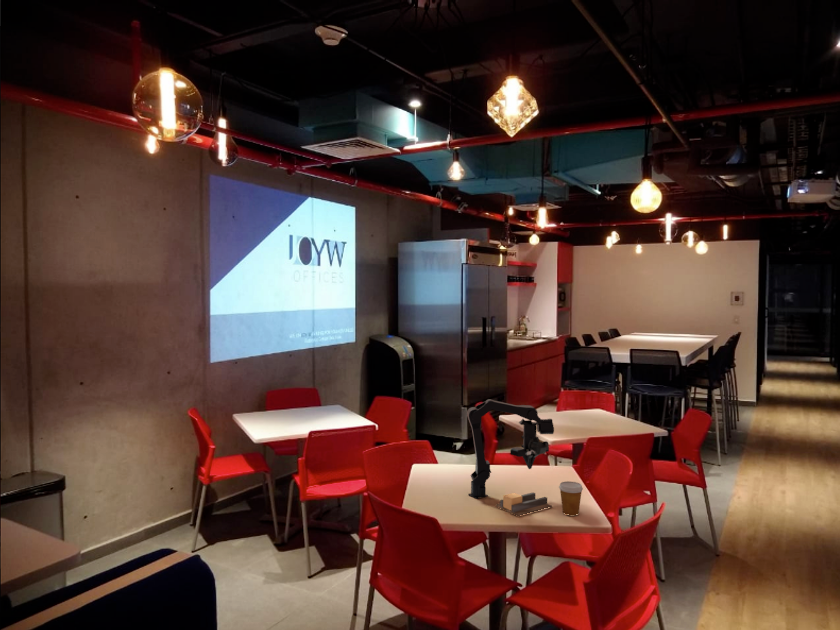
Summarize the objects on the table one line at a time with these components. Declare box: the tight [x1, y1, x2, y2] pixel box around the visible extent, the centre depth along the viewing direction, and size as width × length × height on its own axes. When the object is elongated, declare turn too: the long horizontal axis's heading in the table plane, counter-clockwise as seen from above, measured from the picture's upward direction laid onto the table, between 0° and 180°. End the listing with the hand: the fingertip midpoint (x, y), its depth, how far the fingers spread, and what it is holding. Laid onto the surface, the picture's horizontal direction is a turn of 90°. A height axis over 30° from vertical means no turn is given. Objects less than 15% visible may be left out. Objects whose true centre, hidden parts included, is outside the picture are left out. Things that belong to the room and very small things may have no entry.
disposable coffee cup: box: [558, 480, 584, 515], centre depth 241 cm, size 10×10×12 cm
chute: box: [495, 492, 553, 517], centre depth 248 cm, size 14×19×4 cm
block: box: [502, 492, 522, 510], centre depth 245 cm, size 5×6×5 cm
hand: (529, 468), depth 264 cm, fingers closed
